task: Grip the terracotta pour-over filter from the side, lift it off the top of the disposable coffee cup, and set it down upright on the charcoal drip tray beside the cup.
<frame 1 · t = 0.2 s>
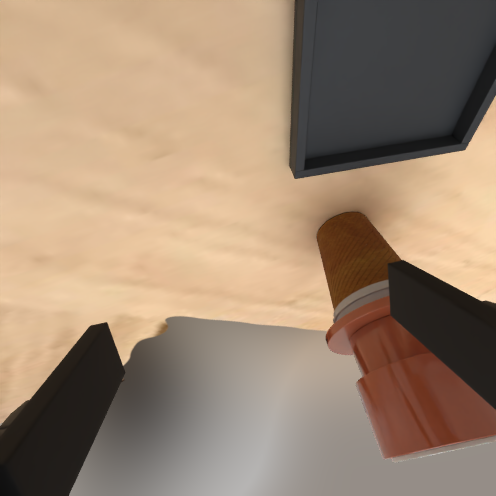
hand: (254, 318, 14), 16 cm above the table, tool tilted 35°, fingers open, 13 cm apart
drip tray: (404, 33, 20), on the table
disposable coffee cup: (341, 229, 36), on the table, touching filter
filter: (387, 322, 28), point 12 cm above the table, touching disposable coffee cup
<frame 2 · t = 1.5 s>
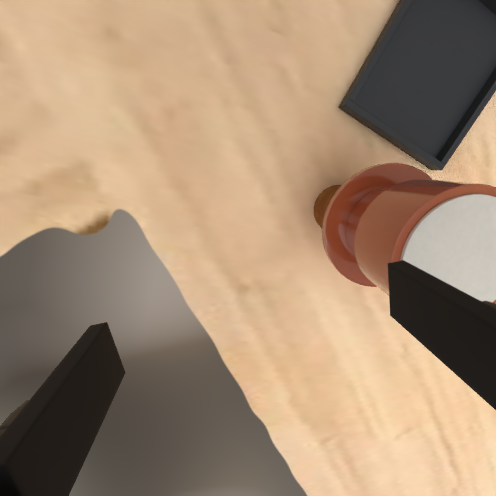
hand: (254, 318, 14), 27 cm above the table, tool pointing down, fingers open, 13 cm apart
drip tray: (430, 70, 37), on the table
disposable coffee cup: (335, 208, 41), on the table, touching filter
filter: (381, 227, 29), point 12 cm above the table, touching disposable coffee cup
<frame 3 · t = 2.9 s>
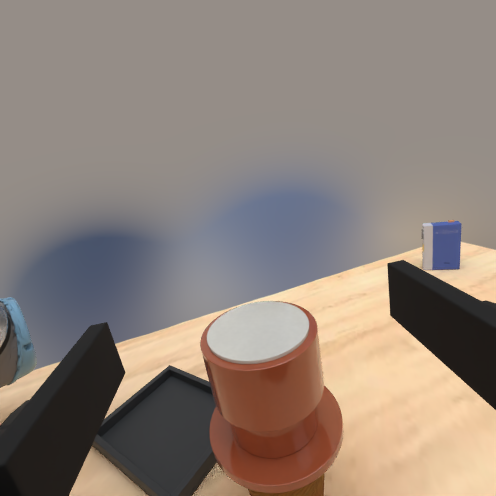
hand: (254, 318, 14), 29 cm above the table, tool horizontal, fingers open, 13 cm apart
drip tray: (173, 427, 44), on the table
walkman: (440, 268, 76), on the table
filter: (275, 422, 28), point 12 cm above the table, touching disposable coffee cup
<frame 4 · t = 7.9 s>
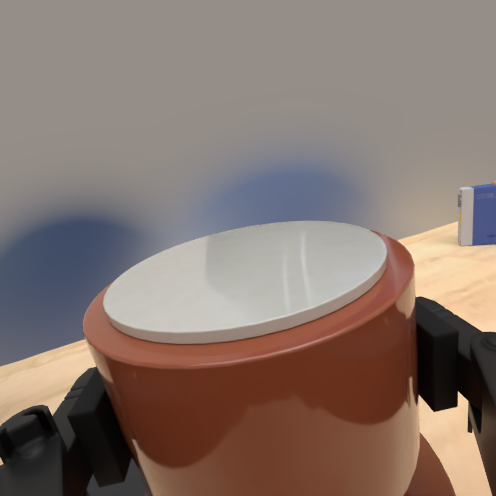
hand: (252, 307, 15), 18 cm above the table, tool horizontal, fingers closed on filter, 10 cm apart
drip tray: (126, 463, 28), on the table
walkman: (481, 243, 62), on the table
filter: (289, 487, 12), point 12 cm above the table, touching disposable coffee cup, gripper
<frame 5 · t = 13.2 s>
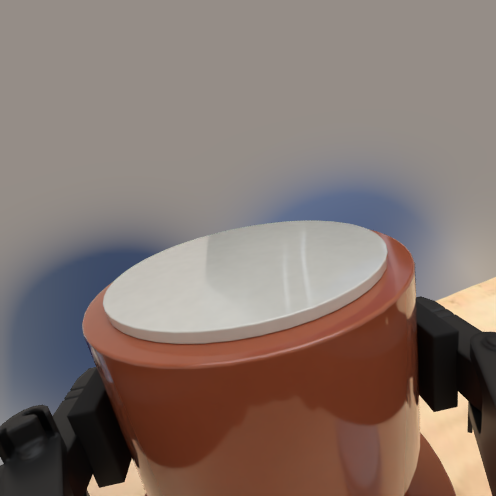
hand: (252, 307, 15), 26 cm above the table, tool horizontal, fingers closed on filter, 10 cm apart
filter: (289, 487, 12), point 20 cm above the table, touching gripper
when the fingers open (7 cm above the table, at t = 19.0 s): filter stays where it is, resting on drip tray.
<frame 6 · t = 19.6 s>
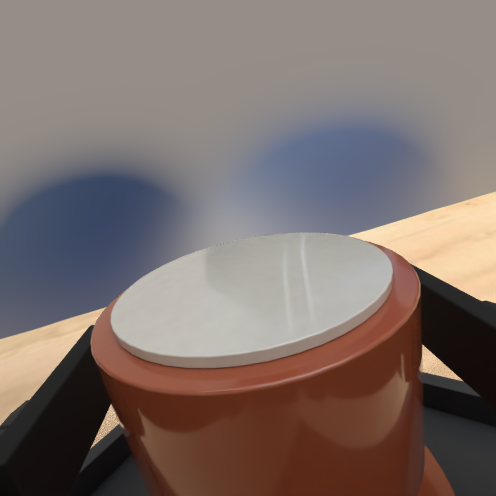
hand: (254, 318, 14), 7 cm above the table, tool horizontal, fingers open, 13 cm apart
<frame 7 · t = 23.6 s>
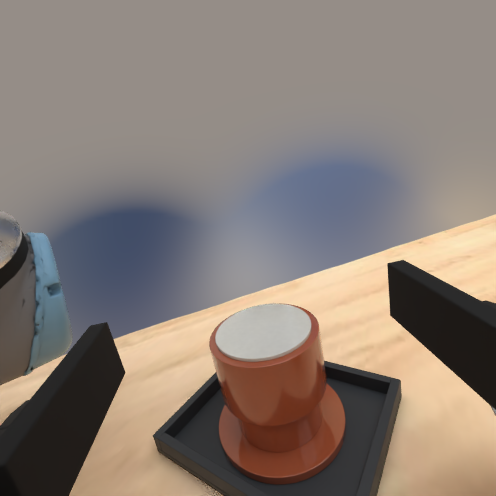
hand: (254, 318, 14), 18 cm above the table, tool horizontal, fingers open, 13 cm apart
drip tray: (281, 423, 29), on the table
filter: (281, 419, 29), resting on drip tray
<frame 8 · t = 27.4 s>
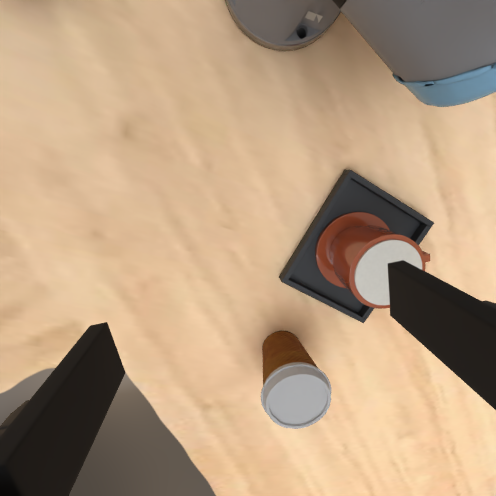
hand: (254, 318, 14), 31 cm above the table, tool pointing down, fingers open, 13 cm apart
drip tray: (351, 248, 46), on the table
disposable coffee cup: (280, 346, 50), on the table
filter: (352, 250, 46), resting on drip tray
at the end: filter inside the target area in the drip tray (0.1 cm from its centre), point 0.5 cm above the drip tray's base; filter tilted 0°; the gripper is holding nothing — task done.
